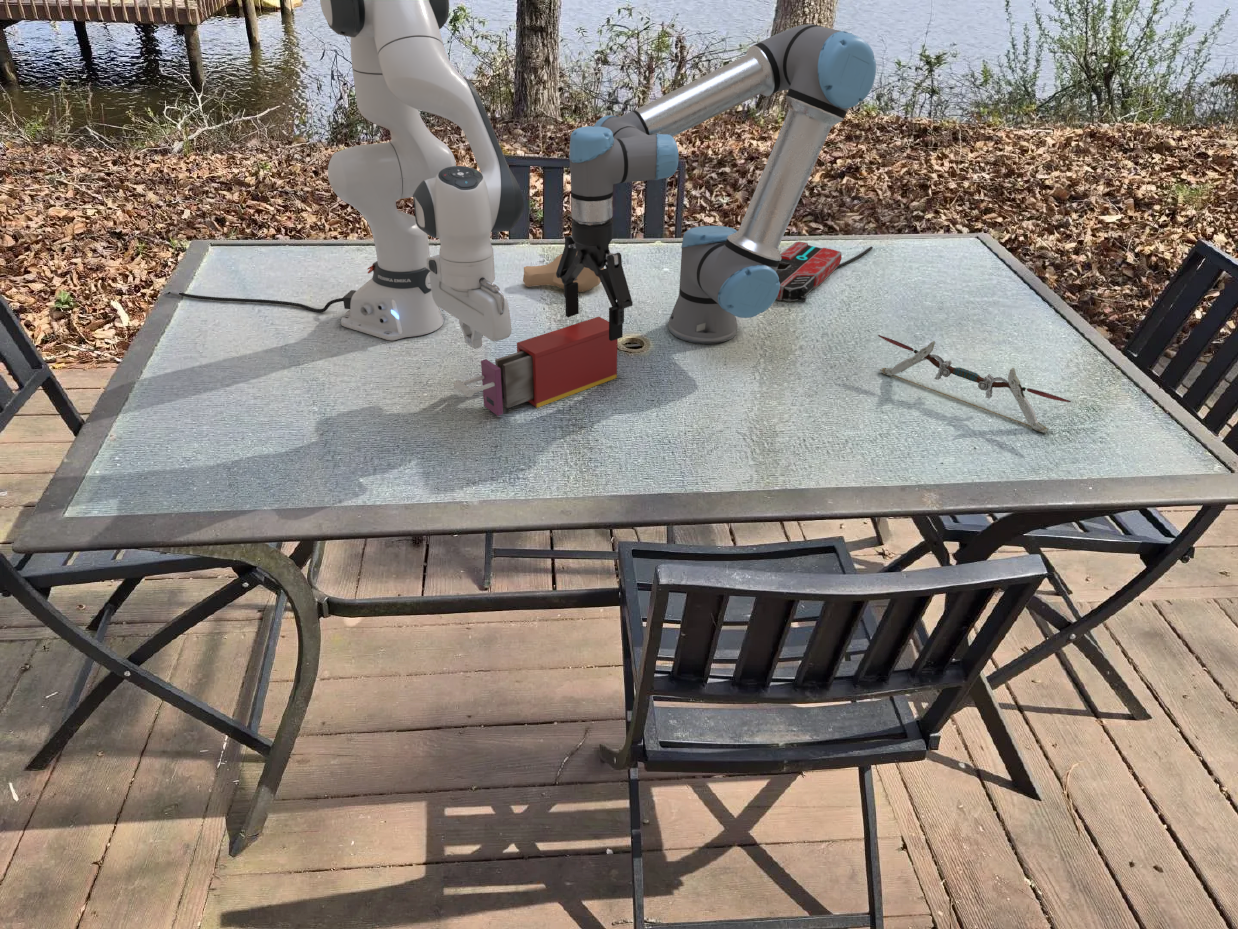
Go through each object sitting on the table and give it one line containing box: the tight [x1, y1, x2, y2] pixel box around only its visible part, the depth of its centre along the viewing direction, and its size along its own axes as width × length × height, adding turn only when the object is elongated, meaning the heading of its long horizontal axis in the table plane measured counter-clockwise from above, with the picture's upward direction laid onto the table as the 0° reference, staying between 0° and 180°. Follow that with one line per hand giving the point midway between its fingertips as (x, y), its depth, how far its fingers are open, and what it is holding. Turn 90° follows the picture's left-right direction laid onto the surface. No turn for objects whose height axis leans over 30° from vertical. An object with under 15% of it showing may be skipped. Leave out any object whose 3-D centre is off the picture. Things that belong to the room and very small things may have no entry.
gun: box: [776, 241, 843, 303], centre depth 223 cm, size 4×31×19 cm
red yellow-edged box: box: [516, 316, 619, 409], centre depth 170 cm, size 20×6×11 cm, turn 130°
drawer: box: [453, 351, 534, 416], centre depth 164 cm, size 25×5×10 cm, turn 130°
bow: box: [877, 334, 1072, 434], centre depth 169 cm, size 39×2×10 cm, turn 47°
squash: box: [522, 253, 605, 293], centre depth 213 cm, size 11×20×9 cm, turn 90°
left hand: (473, 345), depth 154 cm, fingers closed
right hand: (593, 326), depth 170 cm, fingers open, 13 cm apart
